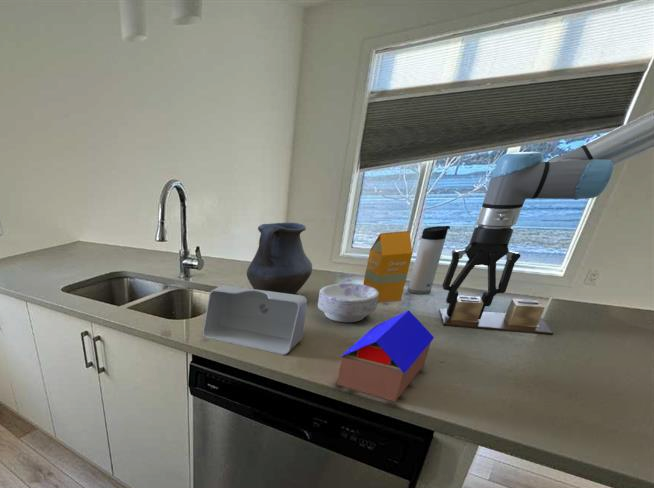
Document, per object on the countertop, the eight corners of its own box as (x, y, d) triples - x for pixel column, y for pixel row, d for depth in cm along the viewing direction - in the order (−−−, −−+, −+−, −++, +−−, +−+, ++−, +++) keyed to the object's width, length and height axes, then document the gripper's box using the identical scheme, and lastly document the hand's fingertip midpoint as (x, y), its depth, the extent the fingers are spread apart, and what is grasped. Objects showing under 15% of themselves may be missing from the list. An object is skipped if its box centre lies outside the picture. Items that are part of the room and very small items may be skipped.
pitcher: (318, 294, 136) (329, 215, 123) (291, 314, 122) (301, 228, 110) (261, 286, 148) (266, 214, 136) (231, 304, 134) (234, 225, 122)
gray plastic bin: (311, 333, 110) (317, 288, 103) (288, 355, 99) (293, 307, 93) (229, 318, 124) (230, 278, 118) (201, 336, 114) (201, 293, 108)
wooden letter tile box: (531, 318, 104) (539, 299, 102) (536, 326, 100) (545, 306, 98) (504, 316, 107) (511, 297, 104) (509, 324, 103) (516, 304, 100)
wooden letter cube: (474, 314, 110) (480, 296, 107) (477, 321, 106) (484, 302, 103) (450, 312, 112) (455, 294, 109) (452, 319, 108) (458, 301, 105)
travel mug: (432, 294, 127) (452, 228, 116) (408, 293, 129) (425, 228, 119) (430, 288, 131) (448, 224, 121) (406, 287, 134) (422, 224, 124)
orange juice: (401, 300, 125) (417, 233, 115) (372, 302, 125) (386, 235, 115) (388, 292, 132) (402, 228, 121) (360, 295, 132) (373, 231, 122)
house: (334, 384, 86) (343, 334, 80) (369, 351, 98) (379, 305, 92) (396, 403, 79) (411, 349, 73) (426, 364, 90) (441, 315, 84)
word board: (538, 317, 106) (540, 315, 106) (552, 335, 97) (553, 332, 97) (439, 310, 116) (439, 307, 115) (443, 325, 107) (443, 323, 106)
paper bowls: (309, 321, 116) (312, 295, 112) (324, 305, 127) (328, 280, 123) (366, 330, 108) (372, 302, 104) (378, 312, 118) (384, 286, 114)
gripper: (449, 228, 98) (423, 317, 110) (550, 229, 90) (510, 325, 102) (446, 222, 104) (421, 307, 116) (541, 223, 96) (503, 314, 108)
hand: (463, 315), depth 109 cm, fingers open, 6 cm apart
